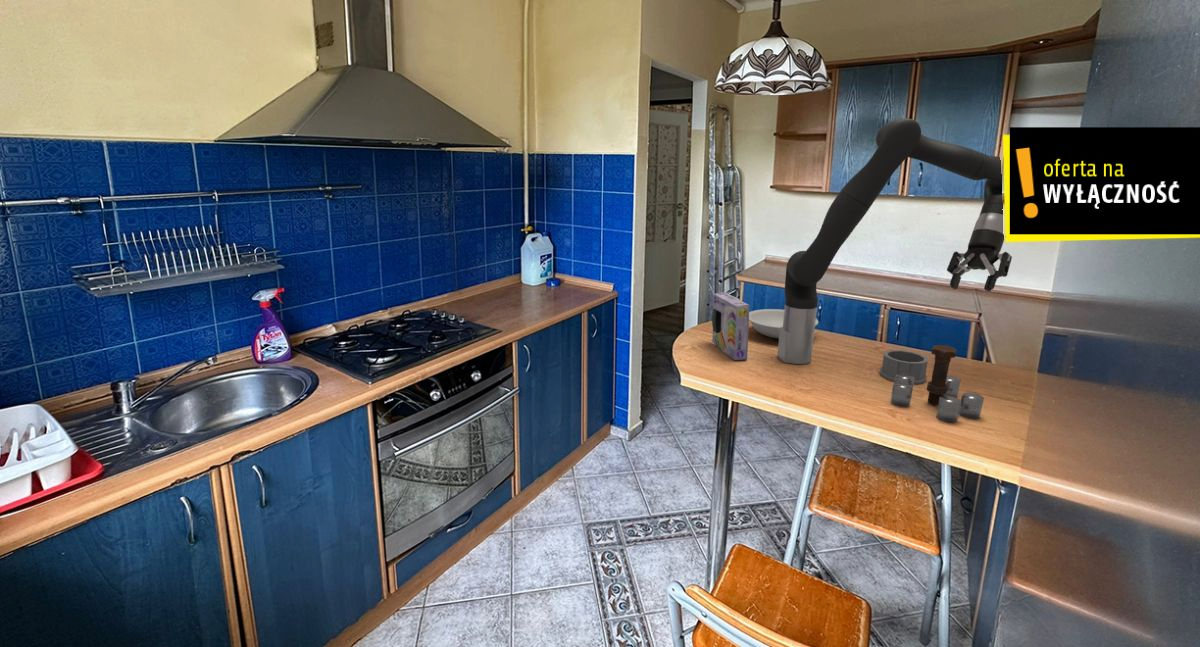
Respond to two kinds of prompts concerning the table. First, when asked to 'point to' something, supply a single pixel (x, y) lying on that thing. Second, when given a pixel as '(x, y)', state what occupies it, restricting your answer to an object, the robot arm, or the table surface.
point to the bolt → (940, 372)
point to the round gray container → (904, 365)
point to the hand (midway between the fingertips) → (970, 289)
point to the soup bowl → (768, 321)
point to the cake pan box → (730, 325)
